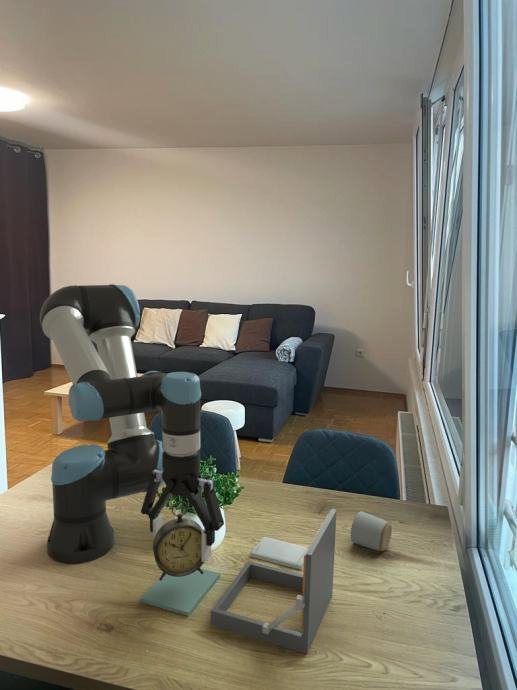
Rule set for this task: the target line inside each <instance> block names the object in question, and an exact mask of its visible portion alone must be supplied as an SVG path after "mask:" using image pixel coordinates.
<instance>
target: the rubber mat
mask: <svg viewBox="0 0 517 690" xmlns="http://www.w3.org/2000/svg"><path fill="white" fill-rule="evenodd" d="M200 569H201V570H202V571H203V574H201V573H200V572H199V571H198V570H196V571H195V572H193V573H192V574H189V575H186V576H182V577H174V576H170V575H167V574H166V575H165V576H164V577H163V578H162V580H161V581H160V580H159V579H158V580H156V581H155V582H154V584H153V585H152V586H150V587H149V589H148V590H147V591H145V592H144V594H143V595H141V597H140V599H139V600H140V603H143V604H146V603H147V605H150V606H153V607H156V608H161V609H163V610H166V611H170V612H173V611H174V612H173V613H177V614H179V615H184V616H187V617H190V615H191V614H192V613H193V611H195V609H196V608H197V607H198V605H199V604H201V602H202V600H203V599H204V598H205V597H206V595H207V594H208V593H209V591H211V589H212V588H213V587H214V585H215V584H216V583H217V581H218V580H220V578H221V573H219V572H216V571H212V570H209V569H205V568H203V567H200Z"/></svg>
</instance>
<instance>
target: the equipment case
mask: <svg viewBox="0 0 517 690" xmlns="http://www.w3.org/2000/svg"><path fill="white" fill-rule="evenodd" d="M337 510H338V509H335V508H331V509H330V511H329V513H328V514H327V515H326V517H325V518H324V520H323V522H322V524H321V526H320V527H319V529H318V531H317V532H316V534H315V535H314V537H313V539H312V541H311V543H310V544H309V546H308V547H307V548H308V549H307V551H306V553H305V555H304V566H303V568H302V573H298V572H294V571H291V570H290V571H289V570H286V569H282V568H277V567H273V566H271V565H270V566H269V565H267V564H266V565H265V564H262V563H258V562H252V561H249V560H248V561H247V562H246V563H245V564H244V565H243V567H242V568H241V570H240V571H239V572H238V574H237V575H236V576H235V578H234V579H233V580H232V582H231V583H230V584H229V585H228V587H227V588H226V590H225V591H224V592H223V594H222V595H221V597H219V599H218V601H217V602H216V603H215V604H214V606H213V607H212V608H211V610H210V626H213V627H217V628H219V629H224V630H226V631H230V632H232V633H236V634H240V635H242V636H247V637H249V638H254V639H255V640H260V641H263V642H266V643H269V644H273V645H276V646H278V647H283V648H285V649H286V648H287V649H289V650H293V651H297V652H300V653H303V654H306V655H308V654H309V651H310V649H311V647H312V644H313V642H314V640H315V636H317V635H316V634H317V633H318V630H319V627H320V625H321V624H322V620H323V619H324V616H325V613H326V611H327V609H328V607H329V604H330V602H331V599H332V597H333V594H334V593H333V590H334V569H335V548H336V532H337V531H336V530H337V514H338V513H337V512H338V511H337ZM250 578H252V579H255V580H260V581H263V582H264V581H265V582H268V583H271V584H275V585H279V586H284V587H288V588H290V589H291V588H292V589H295V590H298V591H302V594H297V596H296V598H295V605H293V606H292V607H290V608H289V609H288V610H286V611H285V612H284V613H282V614H281V615H279V616H278V617H276V618H275V619H274V620H273V621H271V622H265V621H262V620H259V619H255V618H251V617H247V616H246V615H245V616H244V615H240V614H238V613H233V612H230V611H227V610H228V609H229V608H230V606H231V605H232V604H233V603H234V601H235V599H236V598H237V597H238V595H239V594H240V593H241V591H242V589H243V588H244V587H245V585H246V584H247V582H249V579H250ZM298 611H300V612H301V619H300V620H301V623H300V625H301V627H300V628H302V632H299V631H296V630H292V629H289V628H286V627H283V626H279V625H280V624H282V623H283V622H284V621H286V620H287V619H289V618H290V617H292V616H293V615H294V614H295V613H297V612H298Z"/></svg>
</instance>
